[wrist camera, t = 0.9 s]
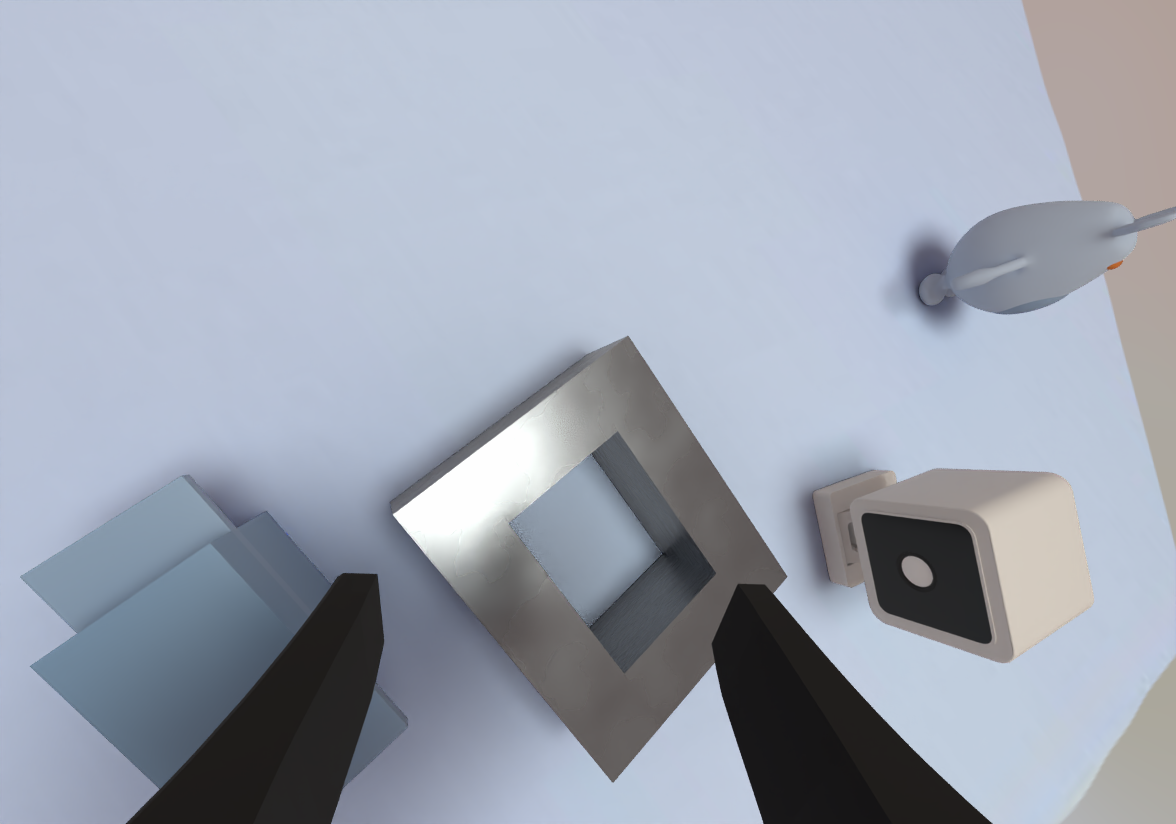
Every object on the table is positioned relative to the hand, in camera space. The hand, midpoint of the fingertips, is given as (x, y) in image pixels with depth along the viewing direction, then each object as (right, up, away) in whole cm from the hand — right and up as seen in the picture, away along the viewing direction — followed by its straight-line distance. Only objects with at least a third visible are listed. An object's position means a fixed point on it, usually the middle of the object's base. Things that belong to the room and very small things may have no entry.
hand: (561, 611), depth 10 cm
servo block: (-11, -3, +8) cm, 14 cm away
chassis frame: (0, -2, +13) cm, 13 cm away
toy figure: (+24, +13, +25) cm, 37 cm away
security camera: (+16, -3, +20) cm, 26 cm away
